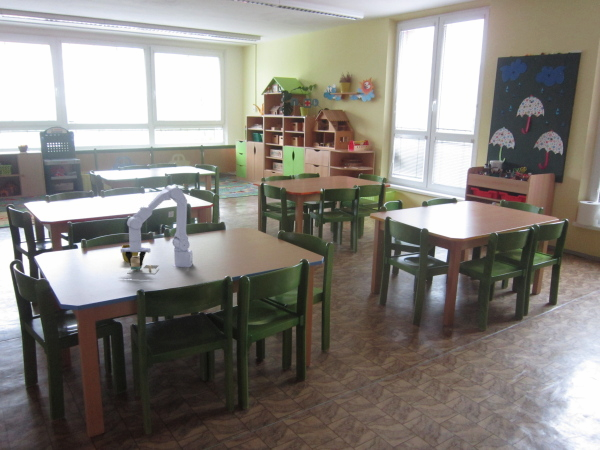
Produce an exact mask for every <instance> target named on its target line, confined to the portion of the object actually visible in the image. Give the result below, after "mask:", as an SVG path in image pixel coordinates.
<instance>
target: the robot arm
mask: <svg viewBox="0 0 600 450" xmlns="http://www.w3.org/2000/svg"><path fill="white" fill-rule="evenodd" d="M171 199H172V200H173V201H174V202H175V203H176V223H175V224H176V225H175V228H176V229H175V233H174V235H173V236H174V237H173V239H172V246H174V249H173V251H174V253H173V254H174V255H173V256H174V264H173V265H172V267H179V268H181V267H183V268H191V267H192V265H193V264H194V263H193V261H194V260H193V250H192V249H189V248H190V241H189V236H188V234H187V219H188V218H187V215H188V213H187V212H188V199H187V198H186V196H185V193H184V191H183V190H182V189H181V188H179V187H176V186H173V185H172V184H170V185H167V186H166V187H164V188H163V189H162V190H160V192H159V193H158V195H156V197H155V198H154V199H152V201H151V202H150V203H149V204H148V205H147V206H145V205H143V206H141V207H140V208H139V210H138V211H137V212H136V213H133V215H132V216H130V217H129V218H128V219H127V222H126V224H127V227H128V240H129V241H128V242H129V244H128V245H130V248H122V247H121V248H120V253H121V254H122V253H123V252H126V254H125V255H126V257H127V259H128V261H129V262H128V263H129V267H131V257H132V252H138V256H140V266H143V262H144V258H145V256H146V254H147V253H148V254H149V253H151V247H142V231H141V228H142V227H143V223H144V222H146V220H147V219H149V218H150V217H151V216H152V215H153V211H154V210H155V209H156V208H157V207H159V205H161V204H162V203H163V202H164V201H171Z"/></svg>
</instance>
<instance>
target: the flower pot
mask: <svg viewBox="0 0 600 450" xmlns="http://www.w3.org/2000/svg"><path fill="white" fill-rule="evenodd" d="M121 248H130V244H122V245H121ZM125 254H126V252H123V253H121V256H122V260H123V261H124V262H125V263H127V264H128V263H129V261H128V259H127V257H126V255H125ZM132 256H139V252H132Z"/></svg>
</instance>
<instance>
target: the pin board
mask: <svg viewBox="0 0 600 450" xmlns="http://www.w3.org/2000/svg"><path fill="white" fill-rule="evenodd" d="M148 265H149V268H143V267H141V269H140V270H131V269H130V270H129V271H127V274H129V275H130V274H131V275H133V274H134V275H155V274H156V273H157V272H158V271H159V270H160V269H159V268H156V269H151V264H148Z"/></svg>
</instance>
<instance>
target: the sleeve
mask: <svg viewBox="0 0 600 450" xmlns="http://www.w3.org/2000/svg"><path fill="white" fill-rule="evenodd" d="M142 266H143V265H142ZM142 266H140V256H139V255H138V256H132V257H131V266H130V270H140V269H141V268H143V267H142Z"/></svg>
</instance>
